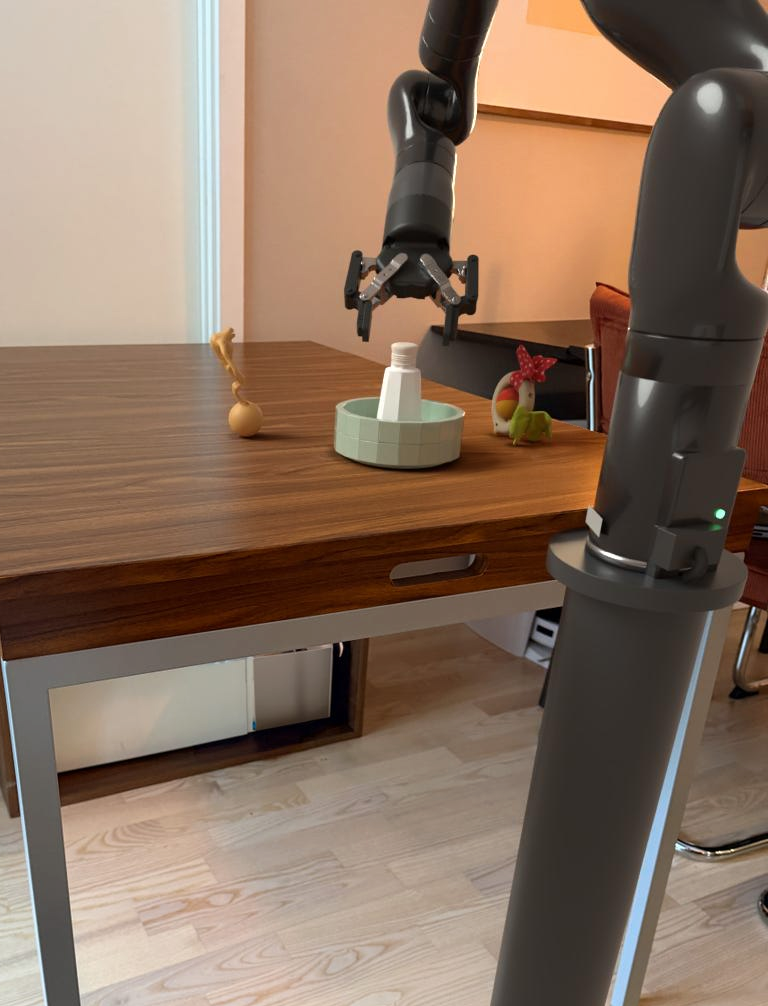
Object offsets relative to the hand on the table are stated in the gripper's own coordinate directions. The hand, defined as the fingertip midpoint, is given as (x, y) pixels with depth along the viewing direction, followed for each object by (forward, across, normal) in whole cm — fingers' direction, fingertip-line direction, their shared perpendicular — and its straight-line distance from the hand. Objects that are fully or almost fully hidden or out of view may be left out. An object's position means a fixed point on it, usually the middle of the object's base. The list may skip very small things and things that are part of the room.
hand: (405, 339), depth 91 cm
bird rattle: (+2, +13, +15) cm, 20 cm away
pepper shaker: (+10, 0, +6) cm, 12 cm away
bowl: (+10, 0, +7) cm, 12 cm away
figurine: (+7, -19, +10) cm, 22 cm away
